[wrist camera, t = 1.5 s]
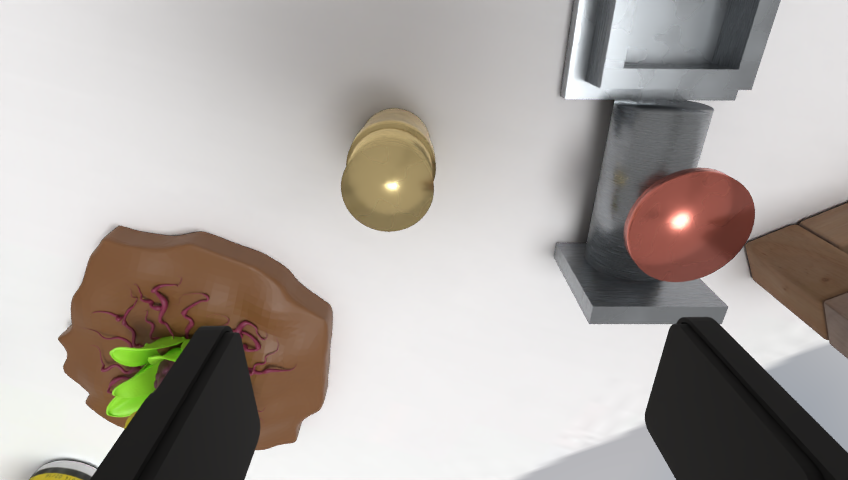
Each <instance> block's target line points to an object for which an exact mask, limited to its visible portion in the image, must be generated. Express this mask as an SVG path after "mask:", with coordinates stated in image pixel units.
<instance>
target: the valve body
mask: <svg viewBox="0 0 848 480" xmlns="http://www.w3.org/2000/svg"><path fill="white" fill-rule="evenodd" d="M779 3H780V0H574V3H573V10H572V17H571V24H570V31H569V38H568V45H567V52H566V59H565V66H564V73H563V80H562V87H561V94H560V96H561V97H562V98H564V99H607V100H615V101H614V106H613V111H612V116H611V121H610V126H609V131H608V136H607V141H606V147H605V152H604V157H603V162H602V167H601V172H600V177H599V182H598V187H597V192H596V198H595V203H594V208H593V213H592V218H591V223H590V228H589V233H588V238H587V243H556V248H555V255H554V259H555V260H556V262H557V264H558V266H559V268H560V270H561V272H562V274H563V276H564V277H565V279H566V281H567V283H568V285H569V287H570V289H571V291H572V293H573V294H574V296H575V298H576V300H577V302H578V304H579V306H580V308H581V310H582V311H583V313H584V315H585V317H586V319H587V321H588V323H589V324H676V323H677V321H678V320H679V319H680V318H682V317H711V318H713V319H714V320H715V321H716V322H717V323H718V324H722V322H723V319H724V317H725V314H726V311H727V309H728V306H727V305H726V304H725V303H724V302H723V301H722V300H721V299H720V298H719V297H718V296H717V295H716V294H715V293H714V292H713V291H712V290H711V289H710V288H709V287H708V286H707V285H706V284H705V283H704V282H703V281H702V280H701V279H700V278H701V277H704V276H707V275H709V274H711V273H713V272H715V271H716V270H718V269H720V268H721V267H723V266H724V265H726V264H727V263H728V262H729V261H730V260H732V259H733V258H734V257H735V256H736V255H737V254H738V252H739V251H740V250H741V249H742V247H743V246H744V245H745V243H746V241H747V240H748V238H749V236H750V233H751V231H752V228H753V225H754V219H755V208H754V203H753V200H752V197H751V195H750V193H749V192H748V190H747V189H746V188H745V187H744V186H743V185H742V184H741V183H740V182H738V181H737V180H735V179H733V178H731V177H729V176H728V175H726V174H724V173H722V172H720V171H717V170H713V169H709V168H697V165H698V161H699V158H700V155H701V151H702V148H703V145H704V141H705V138H706V134H707V131H708V128H709V124H710V121H711V118H712V114H713V111H714V109H713V108H712V107H710V106H708V105H705V104H701V103H697V102H692V101H687V100H735V98H736V95H737V92H738V90H751V89H752V86H753V83H754V80H755V77H756V74H757V71H758V68H759V65H760V62H761V59H762V55H763V52H764V49H765V46H766V43H767V40H768V37H769V34H770V31H771V28H772V25H773V22H774V19H775V16H776V13H777V10H778V7H779Z"/></svg>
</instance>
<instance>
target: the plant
mask: <svg viewBox="0 0 848 480" xmlns="http://www.w3.org/2000/svg"><path fill="white" fill-rule="evenodd" d="M71 319H72V325H71V326H70V327H69V328H68V329H67V330H66V331H65V332H63V333H62V334H61V335H60V336H59V338H58V340H59V341H60V343H61V344H62V345H63V346H64V348H65V349H66V351H67V359H66V361H65V363H64V365H63V369H64V372H65V373H66V374H67V375H68V376H69V377H70V378H72V379H73V380H74V381H76V382H77V383H78V384H80V385H81V386H82V387H83V388H84V389H85V390H86V391H87V392H88V393H89V396H88V398H87V400H86V404H87V405H88V406H89V407H90V408H91V409H92V410H94V411H95V412H96V413H97V414H99V415H100V416H102V417H103V418H105V419H106V420H108V421H110V422H111V423H113V424H115V425H117V426H120V427H122V428H124V429H125V428H126V427H127V425H128V424H129V422H130V421H131V419H132V418H133V417H134V415H135V414H136V412H137V411H138V409H139V408H140V406H141V405H142V404H143V402H144V401H145V399H146V398H147V397H148V396H149V395H150V394H151V393H153V392H154V391H156V389H157V388H158V386H159V385H160V383H161V382H162V380H163V379H164V378H165V376H166V375H167V373H168V372H169V370H170V369H171V367H172V366H173V364H174V363H175V361H176V360H177V358H178V357H179V355H180V354H181V353H182V351H183V350H184V348H185V347H186V345H187V344H188V342H189V341H190V339H191V338H192V336H193V335H194V333H195V332H196V330H197V329H198V328H199V327H201V326H230V327H231V329H232V331H233V332H238V333H239V334H240V335H241V339H242V343H243V348H244V352H245V357H246V361H247V365H248V370H249V374H250V379H251V383H252V388H253V392H254V397H255V401H256V405H257V410H258V414H259V419H260V436H259V440H258V443H257V446H256V448H255V450H265V449H268V448H271V447H274V446H277V445H281V444H288V443H294V442H295V441H296V440H297V437H298V433H299V430H300V426H301V423H302V421H303V420H304V419H305V418H307V417H308V416H310V415H311V414H314V413H316V412H317V411H319V410H320V409H321V407H322V405H323V403H324V400H325V396H326V392H327V387H328V373H329V362H330V344H331V336H332V323H333V314H332V308H331V306H330V304H329V303H327V302H326V301H324V300H323V299H321V298H320V297H319V296H317V295H316V294H314V293H313V292H311V291H310V290H308V289H307V288H306V287H305V286H303V285H302V284H301V283H300V282H299V281H298V280H297V279H296V278H295V277H294V275H293V274H292V273H291V272H290V271H289V270H288V269H287V268H286V267H285V266H283V265H282V264H280V263H279V262H277V261H276V260H274V259H272V258H271V257H269V256H267V255H265V254H263V253H261V252H259V251H256V250H253V249H250V248H247V247H245V246H242V245H239V244H236V243H234V242H231V241H228V240H226V239H223V238H221V237H218V236H216V235H213V234H210V233H206V232H194V233H189V234H184V235H178V236H167V235H160V234H154V233H148V232H142V231H137V230H134V229H130V228H127V227H123V226H118V227H117V228H115V229H114V230H113V231H112V232H110V233H109V234H108V235H107V236H106V237H104V238H103V240H102V241H101V242H100V244H99V246H98V247H97V248H96V249H95V250H94V252H93V253H92V254H91V256H90V258H89V261H88V264H87V268H86V271H85V275H84V278H83V281H82V284H81V285H80V287H79V289H78V290H77V291H76V293H75V294H74V296H73V298H72V302H71Z"/></svg>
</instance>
